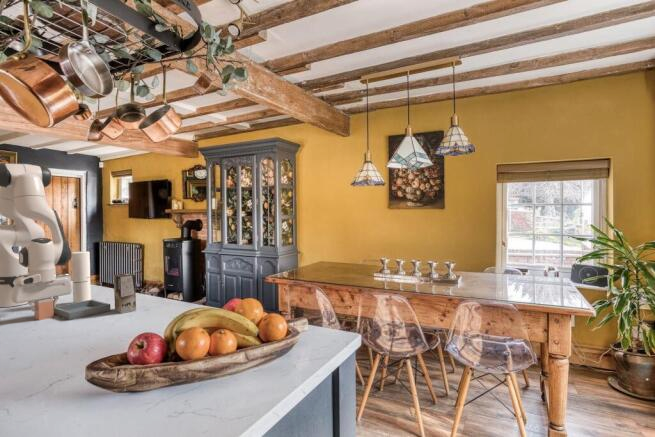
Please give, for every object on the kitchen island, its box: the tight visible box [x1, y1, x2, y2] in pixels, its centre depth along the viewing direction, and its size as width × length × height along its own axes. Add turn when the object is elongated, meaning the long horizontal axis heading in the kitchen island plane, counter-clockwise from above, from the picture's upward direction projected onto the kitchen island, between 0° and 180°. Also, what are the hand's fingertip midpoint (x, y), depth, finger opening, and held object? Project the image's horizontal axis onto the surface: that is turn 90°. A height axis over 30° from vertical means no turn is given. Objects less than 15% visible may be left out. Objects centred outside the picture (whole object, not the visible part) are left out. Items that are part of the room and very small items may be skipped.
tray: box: [53, 299, 111, 321], centre depth 159 cm, size 17×16×3 cm
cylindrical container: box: [71, 251, 92, 303], centre depth 175 cm, size 7×7×25 cm
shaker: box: [33, 297, 55, 321], centre depth 152 cm, size 5×5×8 cm
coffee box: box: [113, 272, 137, 314], centre depth 162 cm, size 9×6×16 cm
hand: (43, 309), depth 152 cm, fingers closed on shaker, 5 cm apart
